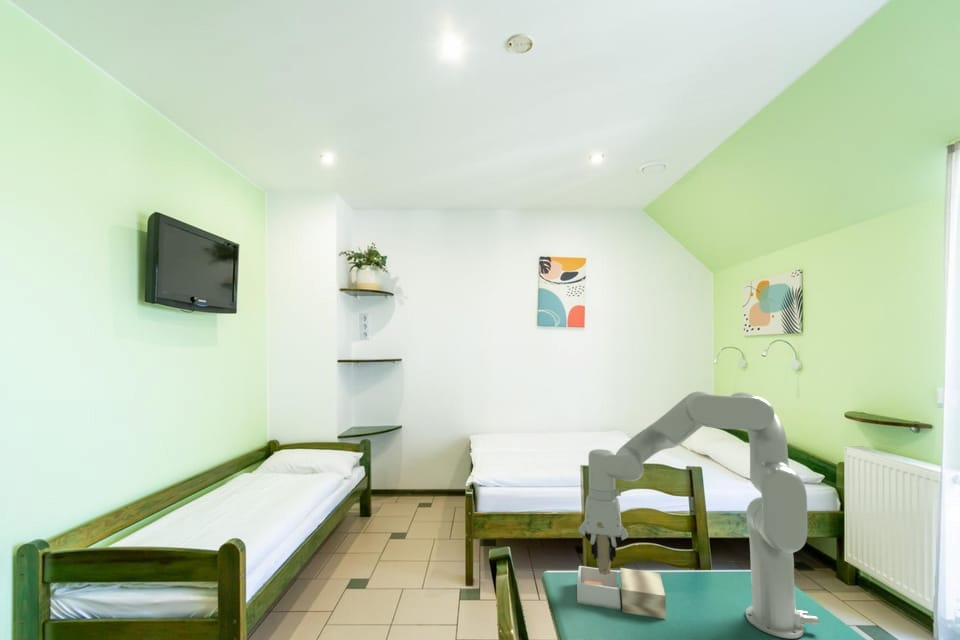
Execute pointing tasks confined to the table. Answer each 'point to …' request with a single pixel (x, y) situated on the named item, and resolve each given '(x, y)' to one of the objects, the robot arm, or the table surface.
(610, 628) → the table surface
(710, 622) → the table surface
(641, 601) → the beige textured block
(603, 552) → the handle
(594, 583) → the tile
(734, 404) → the robot arm
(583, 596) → the box
